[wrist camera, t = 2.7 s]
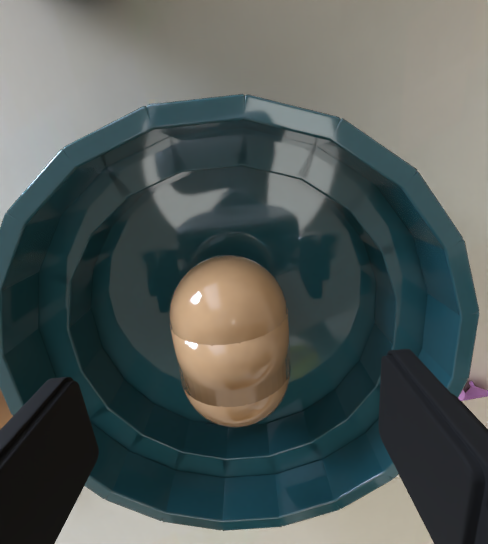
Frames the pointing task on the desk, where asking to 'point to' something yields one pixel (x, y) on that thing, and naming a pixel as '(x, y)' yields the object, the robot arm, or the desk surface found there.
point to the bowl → (251, 244)
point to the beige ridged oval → (231, 340)
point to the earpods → (473, 393)
